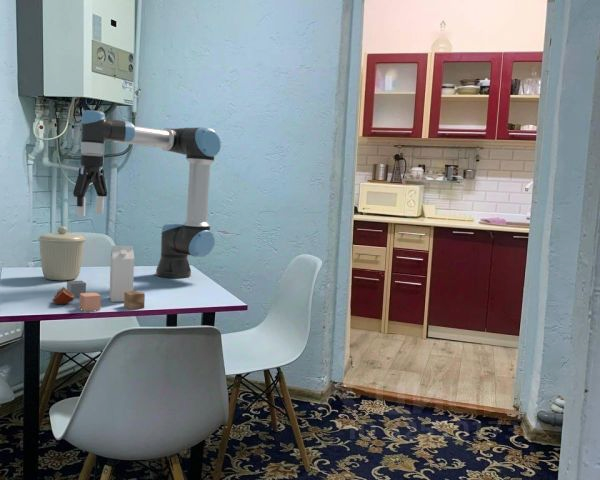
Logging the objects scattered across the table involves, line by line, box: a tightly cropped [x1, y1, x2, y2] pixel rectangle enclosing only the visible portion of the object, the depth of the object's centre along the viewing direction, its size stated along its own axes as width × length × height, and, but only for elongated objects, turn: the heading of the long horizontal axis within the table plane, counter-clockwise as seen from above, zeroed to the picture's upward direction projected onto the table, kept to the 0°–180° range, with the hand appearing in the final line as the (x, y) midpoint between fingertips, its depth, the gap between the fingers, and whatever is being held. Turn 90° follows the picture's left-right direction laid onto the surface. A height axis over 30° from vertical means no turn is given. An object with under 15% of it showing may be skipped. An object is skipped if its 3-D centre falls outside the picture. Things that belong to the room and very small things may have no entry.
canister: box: [36, 225, 87, 282], centre depth 228 cm, size 18×18×21 cm
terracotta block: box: [78, 292, 101, 312], centre depth 183 cm, size 5×5×5 cm
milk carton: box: [109, 245, 135, 303], centre depth 198 cm, size 7×7×19 cm
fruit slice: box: [52, 286, 76, 305], centre depth 188 cm, size 8×7×5 cm
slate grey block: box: [66, 280, 87, 298], centre depth 200 cm, size 5×5×5 cm
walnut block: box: [123, 290, 146, 310], centre depth 190 cm, size 5×5×5 cm
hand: (90, 215), depth 204 cm, fingers open, 13 cm apart
